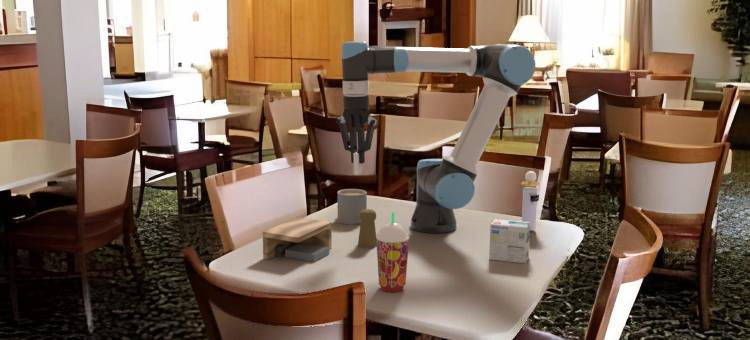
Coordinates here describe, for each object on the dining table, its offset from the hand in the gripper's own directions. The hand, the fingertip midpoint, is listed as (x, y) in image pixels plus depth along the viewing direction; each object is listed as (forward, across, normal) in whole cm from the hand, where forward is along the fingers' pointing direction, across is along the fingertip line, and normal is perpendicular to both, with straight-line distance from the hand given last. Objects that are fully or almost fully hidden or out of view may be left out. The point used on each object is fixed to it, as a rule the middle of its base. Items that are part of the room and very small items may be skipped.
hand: (358, 173), depth 215 cm
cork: (+22, +2, +1) cm, 23 cm away
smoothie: (+22, +23, -30) cm, 44 cm away
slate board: (+22, -10, -16) cm, 29 cm away
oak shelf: (+22, -13, -15) cm, 29 cm away
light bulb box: (+24, +44, +7) cm, 51 cm away
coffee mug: (+23, -16, +26) cm, 38 cm away
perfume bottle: (+24, +43, +38) cm, 62 cm away
